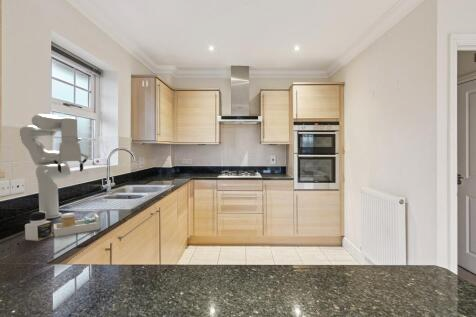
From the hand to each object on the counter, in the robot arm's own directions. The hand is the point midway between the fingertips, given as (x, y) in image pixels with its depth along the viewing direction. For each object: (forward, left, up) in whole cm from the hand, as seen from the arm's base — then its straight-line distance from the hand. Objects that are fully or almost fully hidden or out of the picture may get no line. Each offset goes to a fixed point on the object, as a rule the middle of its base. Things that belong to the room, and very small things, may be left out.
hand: (70, 171), depth 149 cm
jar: (+16, -3, -27) cm, 32 cm away
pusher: (+16, +7, -27) cm, 32 cm away
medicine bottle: (+19, -15, -28) cm, 37 cm away
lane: (+16, +1, -28) cm, 33 cm away
